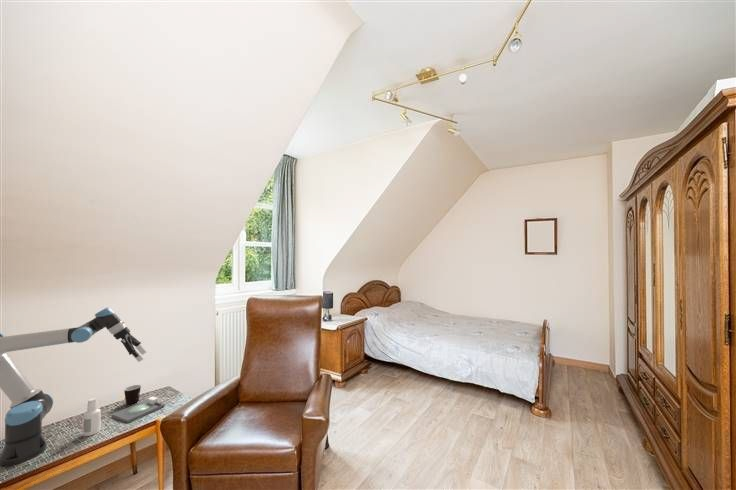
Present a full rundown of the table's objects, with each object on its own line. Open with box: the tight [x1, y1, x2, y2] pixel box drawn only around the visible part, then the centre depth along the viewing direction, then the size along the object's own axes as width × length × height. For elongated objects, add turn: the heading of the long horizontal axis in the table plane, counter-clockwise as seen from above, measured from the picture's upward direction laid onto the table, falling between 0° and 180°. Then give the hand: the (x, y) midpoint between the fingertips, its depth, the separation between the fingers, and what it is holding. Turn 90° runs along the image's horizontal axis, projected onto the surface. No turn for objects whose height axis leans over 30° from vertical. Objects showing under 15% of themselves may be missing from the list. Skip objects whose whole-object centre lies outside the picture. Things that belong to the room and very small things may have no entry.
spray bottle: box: [83, 397, 102, 437], centre depth 160 cm, size 7×7×18 cm
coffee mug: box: [123, 384, 142, 406], centre depth 193 cm, size 12×9×10 cm
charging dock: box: [110, 396, 165, 424], centre depth 181 cm, size 20×18×4 cm
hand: (143, 356), depth 180 cm, fingers open, 13 cm apart
